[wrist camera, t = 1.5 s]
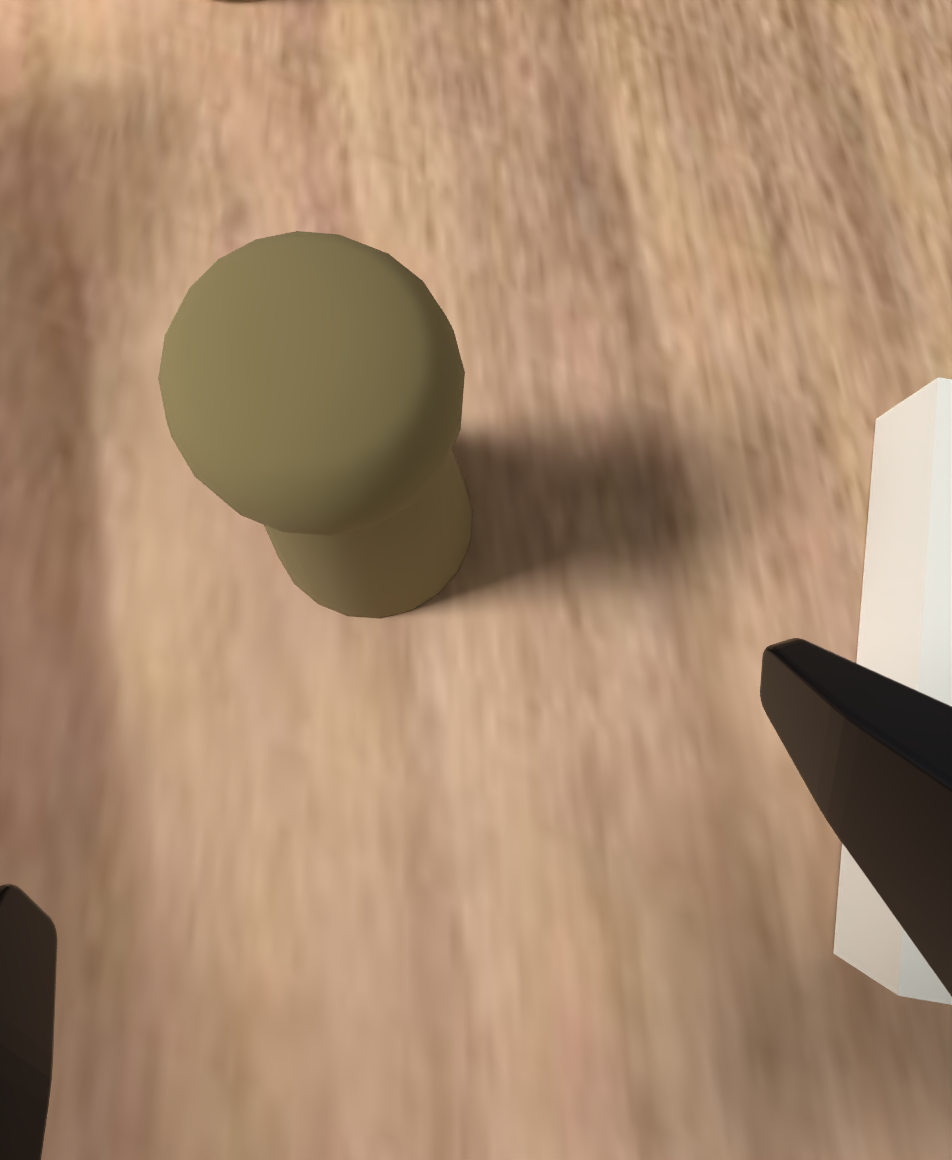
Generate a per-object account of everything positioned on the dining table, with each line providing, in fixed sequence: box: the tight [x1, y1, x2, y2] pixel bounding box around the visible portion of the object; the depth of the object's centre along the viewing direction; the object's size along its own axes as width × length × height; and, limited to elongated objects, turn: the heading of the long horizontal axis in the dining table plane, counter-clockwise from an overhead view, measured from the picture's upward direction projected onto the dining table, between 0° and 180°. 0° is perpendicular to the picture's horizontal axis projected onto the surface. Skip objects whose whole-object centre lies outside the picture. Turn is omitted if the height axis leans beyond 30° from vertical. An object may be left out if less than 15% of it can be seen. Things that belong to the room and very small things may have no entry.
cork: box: [159, 231, 473, 618], centre depth 17 cm, size 6×6×11 cm
